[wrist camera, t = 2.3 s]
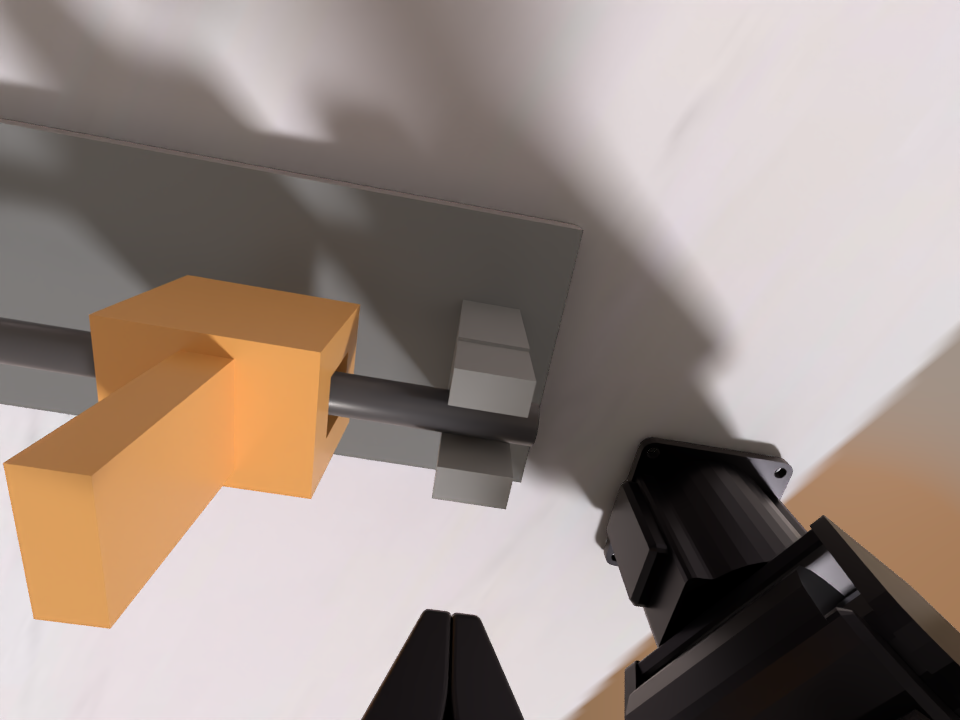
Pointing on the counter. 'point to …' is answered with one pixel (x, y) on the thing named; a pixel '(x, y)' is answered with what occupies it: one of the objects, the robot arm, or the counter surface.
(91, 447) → the orange slider block
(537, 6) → the counter surface
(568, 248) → the stand
